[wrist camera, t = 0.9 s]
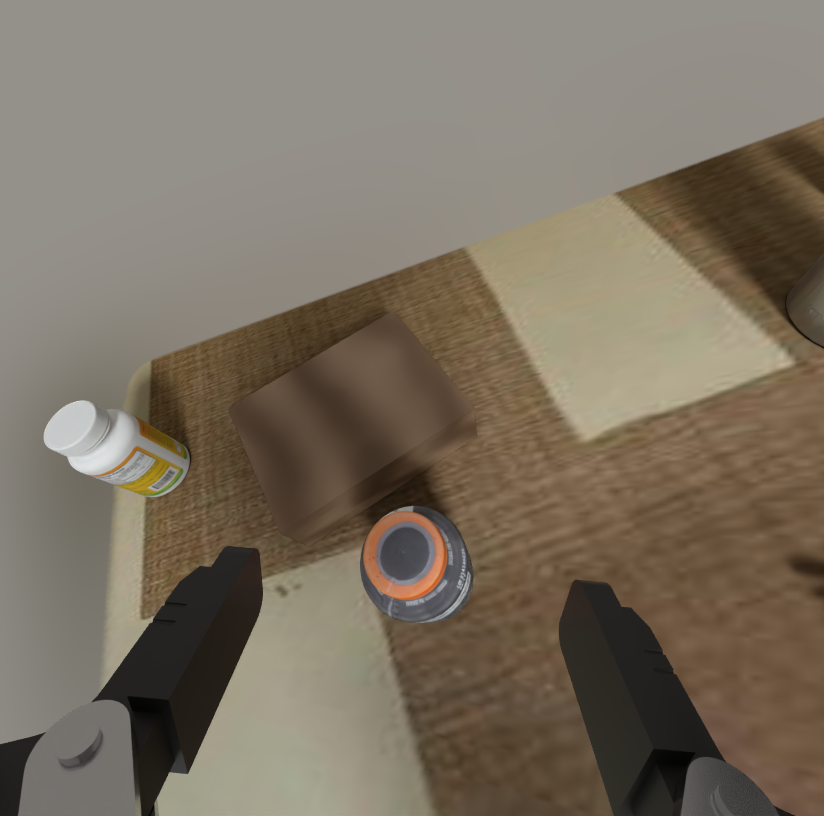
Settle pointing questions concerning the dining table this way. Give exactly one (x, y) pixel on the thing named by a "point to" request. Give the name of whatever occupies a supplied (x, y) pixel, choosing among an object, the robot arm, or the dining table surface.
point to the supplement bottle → (117, 448)
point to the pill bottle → (416, 566)
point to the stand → (350, 428)
